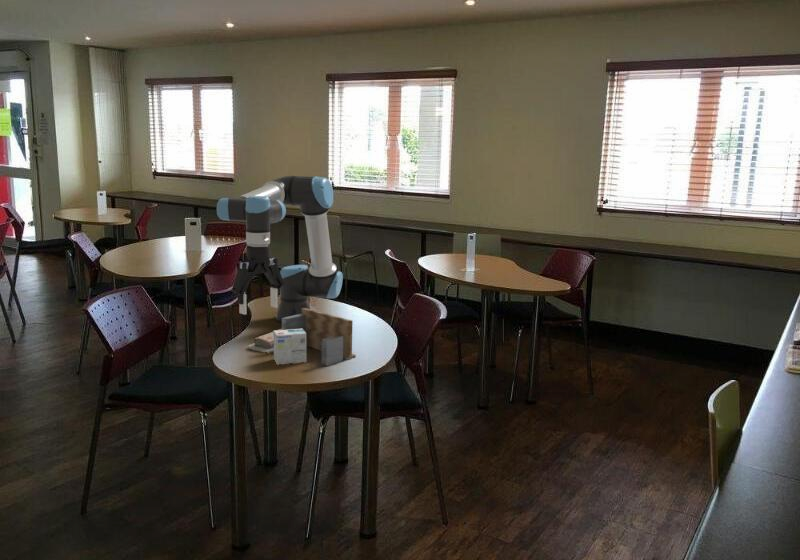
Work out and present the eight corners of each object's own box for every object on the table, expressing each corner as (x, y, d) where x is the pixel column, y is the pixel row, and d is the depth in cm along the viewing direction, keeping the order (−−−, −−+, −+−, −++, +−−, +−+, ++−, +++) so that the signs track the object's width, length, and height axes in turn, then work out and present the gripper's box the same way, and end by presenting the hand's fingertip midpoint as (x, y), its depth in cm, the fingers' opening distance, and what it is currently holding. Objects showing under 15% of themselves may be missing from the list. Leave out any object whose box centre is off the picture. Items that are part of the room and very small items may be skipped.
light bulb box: (302, 356, 234) (303, 327, 232) (307, 362, 228) (307, 332, 226) (272, 359, 231) (272, 329, 228) (276, 365, 224) (276, 335, 222)
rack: (281, 349, 241) (281, 312, 238) (307, 342, 251) (308, 307, 248) (329, 365, 226) (330, 326, 223) (355, 357, 235) (356, 319, 233)
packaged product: (278, 326, 256) (298, 330, 252) (278, 338, 257) (298, 342, 253) (247, 337, 240) (269, 341, 236) (247, 349, 241) (269, 354, 237)
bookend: (321, 364, 227) (321, 339, 225) (338, 359, 233) (338, 334, 231) (326, 366, 225) (326, 340, 223) (342, 360, 231) (343, 336, 229)
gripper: (234, 250, 199) (235, 319, 203) (294, 242, 218) (294, 306, 222) (219, 247, 204) (220, 314, 208) (279, 240, 222) (280, 302, 227)
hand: (258, 310), depth 215 cm, fingers open, 12 cm apart
